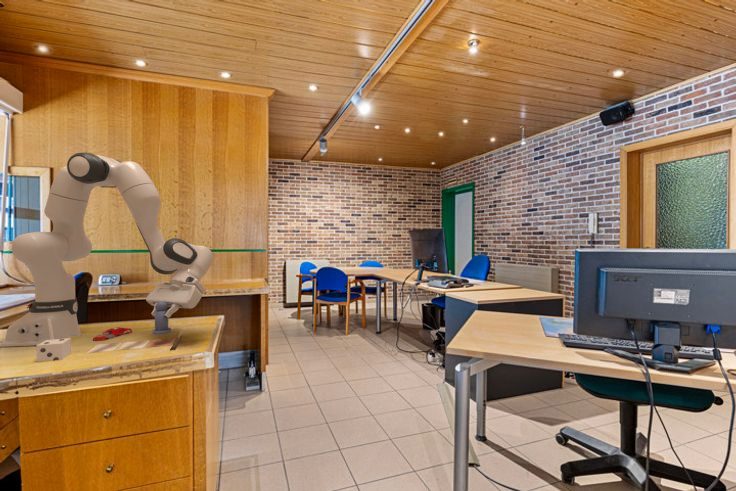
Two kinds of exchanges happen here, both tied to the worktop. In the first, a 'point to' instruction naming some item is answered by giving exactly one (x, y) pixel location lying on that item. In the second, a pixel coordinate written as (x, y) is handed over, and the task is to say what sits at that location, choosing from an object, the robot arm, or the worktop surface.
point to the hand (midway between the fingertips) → (159, 316)
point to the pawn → (161, 319)
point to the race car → (112, 333)
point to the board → (136, 345)
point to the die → (53, 349)
